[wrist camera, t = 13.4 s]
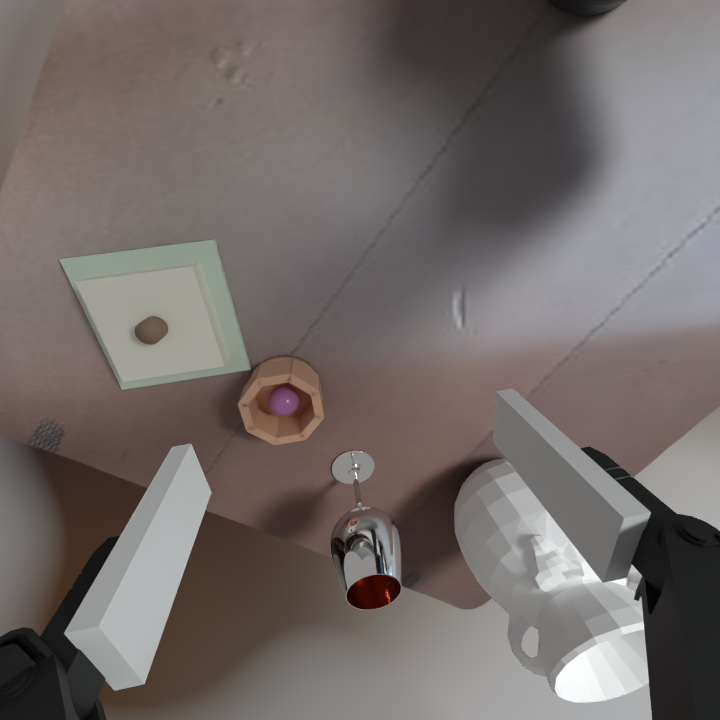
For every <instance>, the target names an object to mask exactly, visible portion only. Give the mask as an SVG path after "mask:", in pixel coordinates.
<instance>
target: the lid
mask: <svg viewBox="0 0 720 720" xmlns="http://www.w3.org/2000/svg"><path fill="white" fill-rule="evenodd" d="M75 283H76V285H77V287H78V290H79V292H80V294H81V296H82V298H83V300H84V302H85V304H86V306H87V309H88V311H89V313H90V315H91V317H92V319H93V321H94V323H95V325H96V327H97V330H98V332H99V334H100V336H101V338H102V340H103V342H104V344H105V346H106V348H107V351H108V353H109V355H110V357H111V359H112V361H113V363H114V365H115V367H116V369H117V372H118V374H119V376H120V378H121V380H122V382H127V381H133V380H140V379H146V378H153V377H159V376H165V375H172V374H178V373H185V372H191V371H198V370H204V369H210V368H217V367H223V366H225V365H226V363H227V361H228V359H229V355H228V352H227V348H226V345H225V342H224V339H223V335H222V332H221V329H220V326H219V322H218V319H217V316H216V313H215V310H214V306H213V303H212V300H211V297H210V293H209V290H208V287H207V284H206V280H205V277H204V274H203V271H202V267H201V264H200V263H193V264H185V265H178V266H170V267H163V268H155V269H148V270H140V271H132V272H125V273H117V274H110V275H102V276H95V277H89V278H85V279H82V280H79V281H76V282H75Z"/></svg>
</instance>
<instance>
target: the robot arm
mask: <svg viewBox="0 0 720 720" xmlns="http://www.w3.org/2000/svg"><path fill="white" fill-rule="evenodd" d="M549 1H550V2H551V3H552V4H553V5H555V6H556V7H558V8H559V9H561V10H563V11H565V12H567V13H570V14H574V15H581V16H590V15H597V14H601V13H604V12H607V11H609V10H611V9H613V8H615V7H617V6H619V5H620V4H622V3H623V2H625V1H626V0H549ZM493 442H494V444H495V445H496V446H497V447H498V449H499V450H500V451H501V453H502V454H503V455H504V456H505V458H506V459H507V460H508V462H509V463H510V464H511V465H512V467H513V468H514V469H515V471H516V472H517V473H518V474H519V476H520V477H521V478H522V480H523V481H524V482H525V483H526V485H527V486H528V487H529V489H530V490H531V491H532V492H533V494H534V495H535V496H536V498H537V499H538V500H539V501H540V503H541V504H542V505H543V507H544V508H545V509H546V510H547V512H548V513H549V514H550V516H551V517H552V518H553V519H554V521H555V522H556V523H557V525H558V526H559V527H560V528H561V530H562V531H563V532H564V534H565V535H566V536H567V537H568V539H569V540H570V541H571V543H572V544H573V545H574V546H575V548H576V549H577V550H578V552H579V553H580V554H581V555H582V557H583V558H584V559H585V561H586V562H587V563H588V564H589V566H590V567H591V568H592V570H593V571H594V572H595V573H596V575H597V576H598V577H599V579H600V580H601V581H602V582H603V583H605V582H610V581H614V580H619V579H623V578H627V576H628V574H629V571H630V568H631V565H633V566H634V567H635V568H636V569H637V571H638V572H639V573H640V574H641V575H642V577H641V580H640V582H639V585H638V587H637V590H636V593H635V596H634V600H636V601H639V599H640V597H641V599H642V610H643V621H644V632H645V643H646V654H647V665H648V676H649V687H650V699H651V710H652V720H720V531H719V530H717V529H716V528H715V527H713V526H711V525H710V524H708V523H706V522H704V521H702V520H700V519H697V518H694V517H692V516H687V515H681V514H676V513H675V512H674V511H673V510H671V509H670V508H669V507H668V506H667V505H665V504H664V503H663V502H662V501H660V500H659V499H658V498H657V497H656V496H654V495H653V494H652V493H651V492H650V491H649V490H647V489H646V488H645V487H644V486H643V485H641V484H640V483H639V482H638V481H637V480H635V479H634V478H631V476H630V474H628V473H627V472H626V471H625V470H624V469H622V468H620V466H619V465H618V464H616V463H615V462H614V461H613V460H612V459H610V458H609V457H608V456H607V455H605V454H603V453H601V452H599V451H597V450H595V449H593V448H592V447H585V448H579V447H578V446H576V445H575V444H574V443H573V442H572V441H571V440H570V439H569V438H567V437H566V436H565V435H564V434H563V433H562V432H561V431H560V430H559V429H557V428H556V427H555V426H554V425H553V424H552V423H551V422H550V421H549V420H547V419H546V418H545V417H544V416H543V415H542V414H541V413H540V412H538V411H537V410H536V409H535V408H534V407H533V406H532V405H531V404H530V403H528V402H527V401H526V400H525V399H524V398H523V397H522V396H521V395H519V394H518V393H517V392H516V391H515V390H514V389H508V390H502V391H496V403H495V417H494V430H493ZM210 495H211V490H210V488H209V486H208V483H207V481H206V478H205V476H204V473H203V471H202V469H201V466H200V464H199V461H198V459H197V456H196V454H195V452H194V449H193V447H192V444H186V445H180V446H174V447H172V448H171V450H170V451H169V453H168V455H167V457H166V458H165V460H164V462H163V463H162V465H161V467H160V469H159V470H158V472H157V474H156V475H155V477H154V479H153V481H152V482H151V484H150V486H149V488H148V489H147V491H146V493H145V494H144V496H143V498H142V500H141V501H140V503H139V505H138V506H137V508H136V510H135V512H134V513H133V515H132V517H131V519H130V520H129V522H128V524H127V525H126V527H125V529H124V531H123V532H122V534H121V536H117V537H111V538H108V539H107V540H106V541H105V542H104V543H103V544H102V545H101V546H100V547H99V548H98V549H97V550H96V551H95V552H94V553H93V554H92V555H91V557H90V559H89V560H88V562H87V563H86V565H85V567H84V568H83V570H82V574H81V575H79V576H78V578H77V579H76V581H75V582H74V584H73V588H72V589H70V590H69V592H68V593H67V595H66V597H65V598H64V600H63V601H62V603H61V605H60V606H59V608H58V609H57V611H56V613H55V614H54V616H53V617H52V619H51V621H50V622H49V624H48V625H47V627H46V628H45V630H44V632H43V633H42V635H41V636H40V637H39V636H38V635H37V634H36V633H35V631H33V629H31V628H20V629H16V630H13V631H10V632H8V633H6V634H5V635H3V636H1V637H0V720H106V716H105V713H104V709H103V706H102V703H101V702H100V701H99V699H98V698H97V697H98V695H99V693H100V690H101V688H102V686H103V683H104V681H105V680H106V682H107V683H109V685H110V686H111V687H112V688H113V689H114V690H120V689H124V688H129V687H133V686H138V685H142V684H145V681H146V678H147V675H148V672H149V669H150V667H151V664H152V661H153V658H154V655H155V652H156V650H157V647H158V644H159V641H160V638H161V635H162V632H163V629H164V627H165V624H166V621H167V618H168V615H169V612H170V610H171V607H172V603H173V601H174V598H175V595H176V592H177V589H178V586H179V584H180V581H181V578H182V575H183V572H184V569H185V567H186V564H187V561H188V558H189V555H190V552H191V549H192V547H193V544H194V541H195V538H196V535H197V532H198V529H199V526H200V524H201V521H202V518H203V515H204V512H205V509H206V506H207V504H208V501H209V498H210Z"/></svg>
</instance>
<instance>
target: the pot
mask: <svg viewBox="0 0 720 720" xmlns="http://www.w3.org/2000/svg"><path fill="white" fill-rule="evenodd" d="M238 407H239V410H240V413H241V416H242V419H243V422H244V425H245V429H246V431H247V432H249V433H251V434H253V435H255V436H257V437H259V438H261V439H263V440H265V441H267V442H269V443H271V444H273V445H280V444H285V443H291V442H297V441H303V440H305V439H307V438H308V437H309V436H310V434H311V433H312V432H313V431H314V430H315V428H316V427H317V426H318V425H319V424H320V423H321V421H322V420H323V419H324V406H323V397H322V391H321V382H320V378H319V375H318V374H317V372H316V370H315V369H314V368H313V367H312V366H311V365H310V364H309V363H307V362H306V361H304V360H302V359H300V358H297V357H294V356H287V355H282V356H275V357H272V358H269V359H267V360H265V361H263V362H262V363H260V364H259V365H258V366H257V367H256V368H255V369H254V371H253V373H252V375H251V377H250V379H249V381H248V382H247V383H246V385H245V386H244V389H243V391H242V394H241V397H240V399H239V402H238Z"/></svg>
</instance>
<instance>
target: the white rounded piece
mask: <svg viewBox="0 0 720 720" xmlns="http://www.w3.org/2000/svg"><path fill="white" fill-rule="evenodd" d="M454 525H455V535H456V538H457V541H458V544H459V546H460V549H461V552H462V554H463V556H464V558H465V560H466V562H467V564H468V566H469V568H470V569H471V571H472V573H473V574H474V576H475V578H476V579H477V581H478V583H479V584H480V585H481V586H482V587H483V588H484V590H485V591H486V592H487V593H488V594H489V595H490V596H491V597H492V599H493V600H494V601H495V602H497V603H498V604H499V605H500V606H501V607H502V608H503V609H504V610H505V611H506V612H508V613H509V626H508V639H509V642H510V645H511V649H512V651H513V653H514V655H515V656H516V657H517V659H518V660H519V661H520V663H521V664H522V665H523V666H524V667H525V668H526V669H528V670H530V671H532V672H533V673H535V674H537V675H542V676H546V677H547V679H548V682H549V685H550V687H551V689H552V691H553V692H554V693H555V694H556V695H558V696H559V697H561V698H563V699H565V700H569V701H572V702H596V701H604V700H609V699H612V698H615V697H618V696H622V695H625V694H628V693H630V692H632V691H634V690H636V689H638V688H641V687H643V686H644V685H646V684H647V683H649V676H648V665H647V654H646V643H645V632H644V621H643V610H642V599H641V597H640V599H639V601H636V600H634V596H635V592H633V591H632V590H631V589H629V588H628V585H629V583H630V582H632V583H636V584H639V582H640V580H641V577H642V575H641V574H640V573H639V572H638V571H637V569H636V568H635V567H634V566H633V565H631V568H630V571H629V574H628V576H627V578H623V579H619V580H614V581H610V582H605V583H603V582H602V581H601V580H600V579H599V577H598V576H597V575H596V573H595V572H594V571H593V570H592V568H591V567H590V566H589V564H588V563H587V562H586V561H585V559H584V558H583V557H582V555H581V554H580V553H579V552H578V550H577V549H576V548H575V546H574V545H573V544H572V543H571V541H570V540H569V539H568V537H567V536H566V535H565V534H564V532H563V531H562V530H561V528H560V527H559V526H558V525H557V523H556V522H555V521H554V519H553V518H552V517H551V516H550V514H549V513H548V512H547V510H546V509H545V508H544V507H543V505H542V504H541V503H540V501H539V500H538V499H537V498H536V496H535V495H534V494H533V492H532V491H531V490H530V489H529V487H528V486H527V485H526V483H525V482H524V481H523V480H522V478H521V477H520V476H519V474H518V473H517V472H516V471H515V469H514V468H513V467H512V465H511V464H510V463H509V462H508V460H507V459H496V460H491V461H489V462H486V463H483V464H482V465H481V466H479V467H478V468H476V469H475V470H474V471H473V472H472V473H471V475H470V476H469V477H468V478H467V479H466V480H465V482H464V483H463V484H462V486H461V489H460V491H459V494H458V497H457V499H456V502H455V505H454ZM530 626H533V627H534V628H536V629H538V635H539V643H538V655H537V656H536V657H534V658H531V657H528V656H527V655H526V654H525V652H524V651H523V650H522V648H521V643H522V638H523V635H524V633H525V632H526V631H527V629H528V628H529V627H530Z"/></svg>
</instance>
